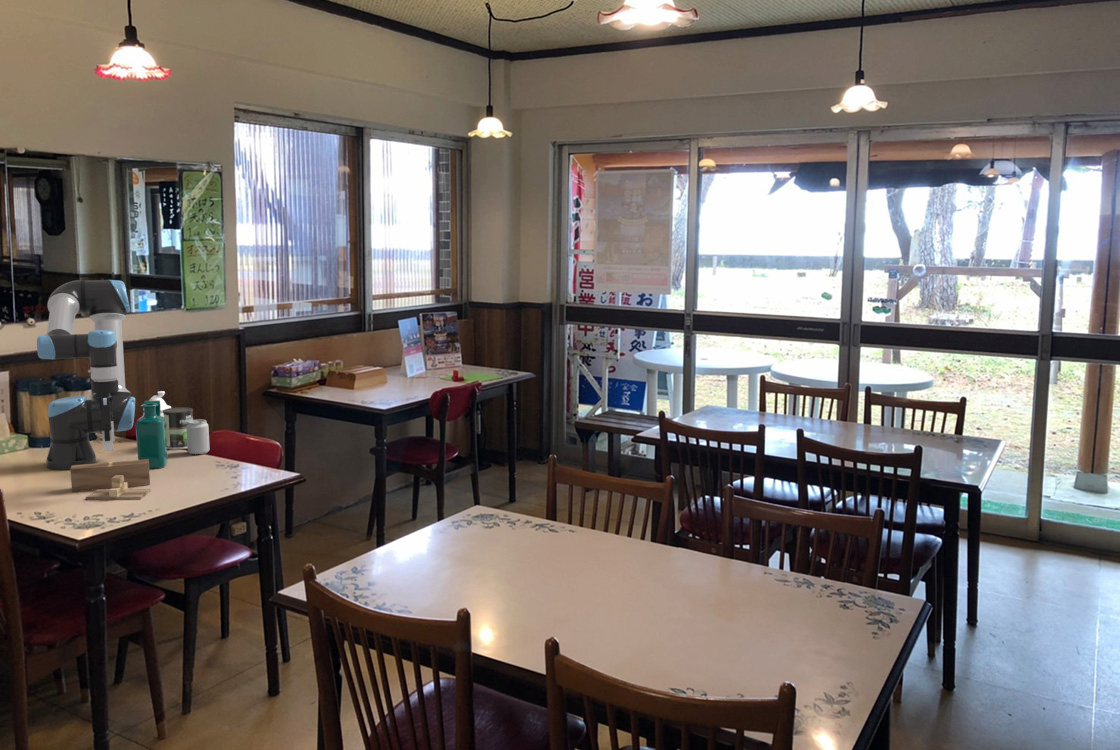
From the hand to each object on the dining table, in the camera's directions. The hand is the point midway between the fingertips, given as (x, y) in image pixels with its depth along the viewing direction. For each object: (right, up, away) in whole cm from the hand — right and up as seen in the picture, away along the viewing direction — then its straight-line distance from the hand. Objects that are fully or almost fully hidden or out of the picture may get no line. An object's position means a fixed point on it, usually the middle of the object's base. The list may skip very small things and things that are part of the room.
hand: (109, 446), depth 280 cm
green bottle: (+2, -9, +27) cm, 29 cm away
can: (+10, -6, +45) cm, 46 cm away
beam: (0, -13, +2) cm, 13 cm away
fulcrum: (+6, -15, -7) cm, 17 cm away
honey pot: (-15, -2, +68) cm, 69 cm away
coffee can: (-1, -5, +54) cm, 54 cm away
